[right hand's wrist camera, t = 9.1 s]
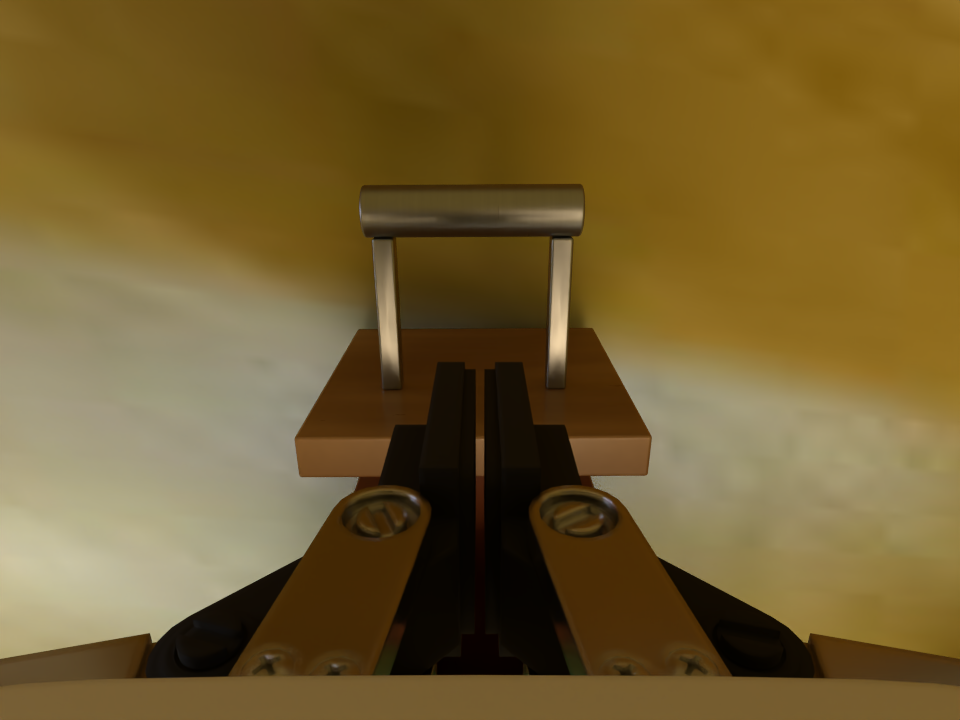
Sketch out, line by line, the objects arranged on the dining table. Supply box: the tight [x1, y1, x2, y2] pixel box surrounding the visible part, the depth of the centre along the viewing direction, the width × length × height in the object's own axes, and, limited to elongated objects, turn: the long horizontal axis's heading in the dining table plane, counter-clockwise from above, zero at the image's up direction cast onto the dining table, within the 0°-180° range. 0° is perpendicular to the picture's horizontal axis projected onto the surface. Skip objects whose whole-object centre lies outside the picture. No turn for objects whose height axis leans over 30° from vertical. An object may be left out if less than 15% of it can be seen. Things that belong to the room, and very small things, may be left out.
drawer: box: [295, 184, 652, 675], centre depth 22 cm, size 24×9×9 cm, turn 0°
